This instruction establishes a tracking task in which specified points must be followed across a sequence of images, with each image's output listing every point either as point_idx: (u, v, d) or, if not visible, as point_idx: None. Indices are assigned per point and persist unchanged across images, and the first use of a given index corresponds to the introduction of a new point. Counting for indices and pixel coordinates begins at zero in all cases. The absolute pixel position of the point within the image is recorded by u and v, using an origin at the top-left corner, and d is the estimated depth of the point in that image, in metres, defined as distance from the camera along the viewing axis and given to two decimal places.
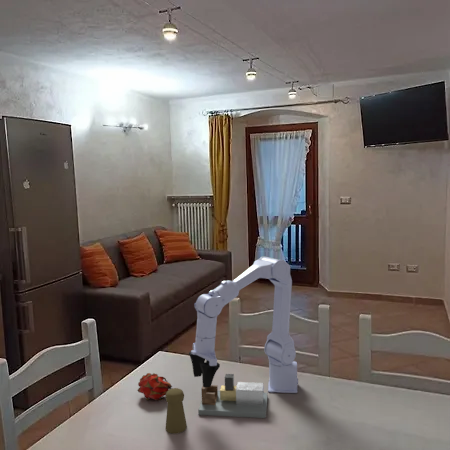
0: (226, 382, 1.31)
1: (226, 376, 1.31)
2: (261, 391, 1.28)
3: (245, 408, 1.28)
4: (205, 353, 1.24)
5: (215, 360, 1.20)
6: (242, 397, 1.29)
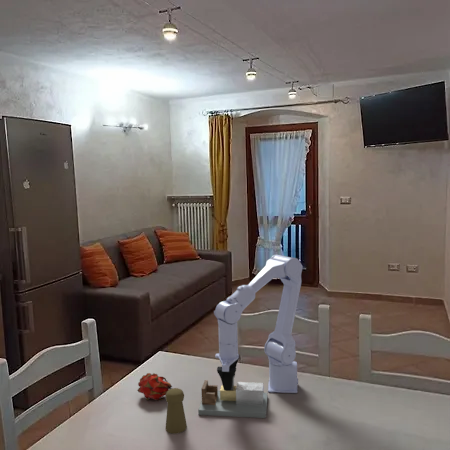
0: None
1: None
2: (261, 391, 1.28)
3: (245, 408, 1.28)
4: (224, 358, 1.28)
5: (226, 366, 1.24)
6: (242, 397, 1.29)
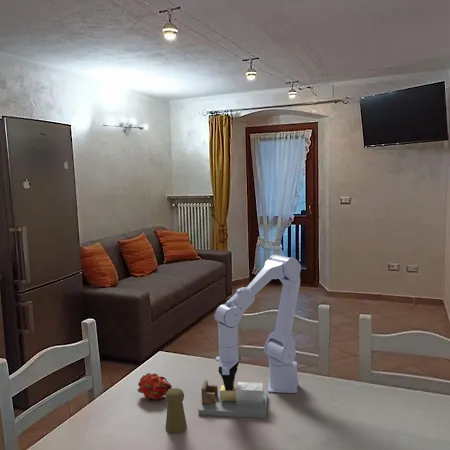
0: None
1: None
2: (261, 391, 1.28)
3: (245, 408, 1.28)
4: (224, 361, 1.29)
5: (227, 370, 1.24)
6: (242, 397, 1.29)
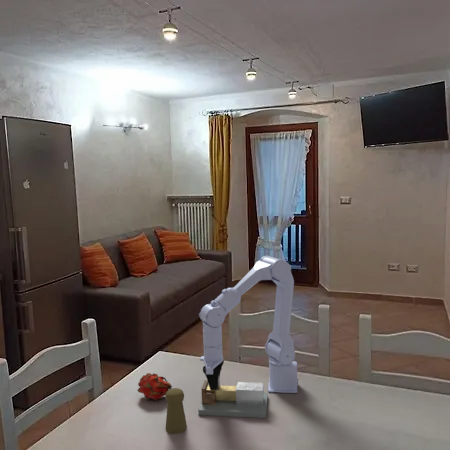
0: None
1: None
2: (261, 391, 1.28)
3: (245, 408, 1.28)
4: (209, 361, 1.29)
5: (210, 369, 1.25)
6: (242, 397, 1.29)
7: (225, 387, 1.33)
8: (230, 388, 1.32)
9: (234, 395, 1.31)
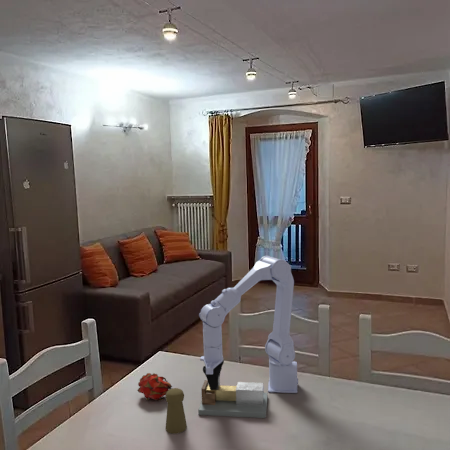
0: None
1: None
2: (261, 391, 1.28)
3: (245, 408, 1.28)
4: (209, 361, 1.29)
5: (210, 369, 1.25)
6: (242, 397, 1.29)
7: (225, 387, 1.33)
8: (230, 388, 1.32)
9: (234, 395, 1.31)
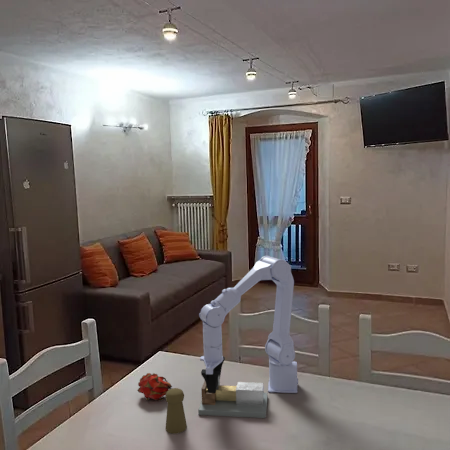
0: None
1: None
2: (261, 391, 1.28)
3: (245, 408, 1.28)
4: (209, 361, 1.29)
5: (210, 369, 1.25)
6: (242, 397, 1.29)
7: (225, 387, 1.33)
8: (230, 388, 1.32)
9: (234, 395, 1.31)
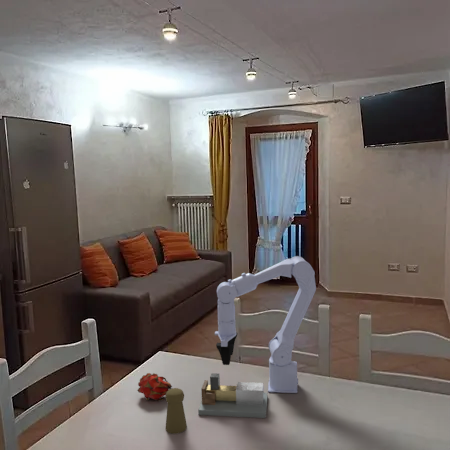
0: (211, 381, 1.32)
1: (211, 375, 1.32)
2: (261, 391, 1.28)
3: (245, 408, 1.28)
4: (223, 335, 1.38)
5: (225, 342, 1.34)
6: (242, 397, 1.29)
7: (225, 387, 1.33)
8: (230, 388, 1.32)
9: (234, 395, 1.31)
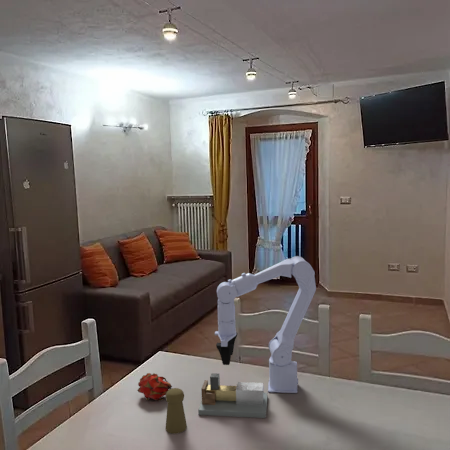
0: (211, 381, 1.32)
1: (211, 375, 1.32)
2: (261, 391, 1.28)
3: (245, 408, 1.28)
4: (223, 335, 1.38)
5: (225, 342, 1.34)
6: (242, 397, 1.29)
7: (225, 387, 1.33)
8: (230, 388, 1.32)
9: (234, 395, 1.31)
